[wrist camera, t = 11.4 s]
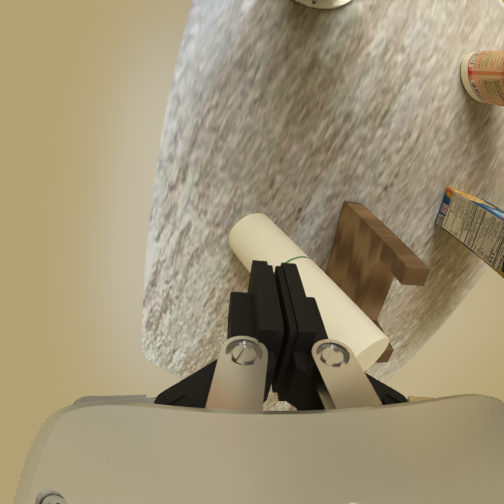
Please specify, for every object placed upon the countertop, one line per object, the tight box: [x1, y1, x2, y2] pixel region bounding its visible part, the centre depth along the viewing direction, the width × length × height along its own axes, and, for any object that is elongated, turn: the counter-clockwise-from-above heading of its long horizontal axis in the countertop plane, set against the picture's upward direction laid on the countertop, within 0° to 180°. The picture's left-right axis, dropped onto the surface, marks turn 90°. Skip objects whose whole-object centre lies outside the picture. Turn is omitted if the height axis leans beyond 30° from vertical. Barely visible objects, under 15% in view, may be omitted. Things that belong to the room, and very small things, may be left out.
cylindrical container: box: [229, 213, 389, 372], centre depth 40 cm, size 7×7×25 cm
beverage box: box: [435, 187, 504, 278], centre depth 40 cm, size 7×11×22 cm, turn 80°
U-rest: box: [325, 201, 430, 363], centre depth 42 cm, size 13×3×21 cm, turn 172°
